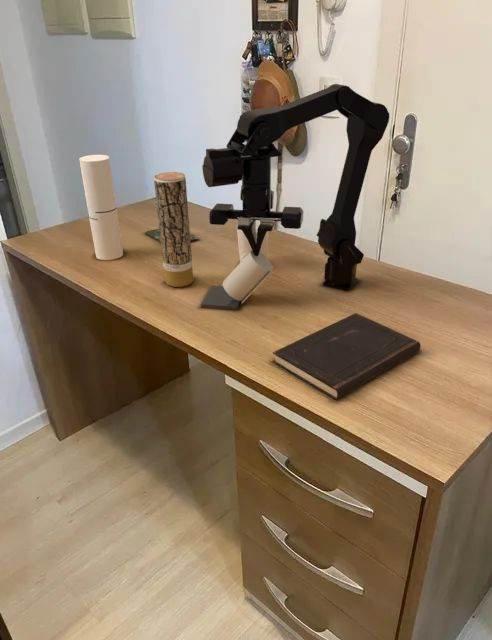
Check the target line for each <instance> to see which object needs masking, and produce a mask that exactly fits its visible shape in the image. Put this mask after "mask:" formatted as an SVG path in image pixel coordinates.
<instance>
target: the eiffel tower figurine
mask: <svg viewBox="0 0 492 640" xmlns="http://www.w3.org/2000/svg"><path fill="white" fill-rule="evenodd" d="M144 233H146V234H147V235H148V236H150V237H152V238H153V239H156V240H157V241H159V242H161V239H160V230H159V228H157V229H151V230H146V231H145V230H144ZM196 239H198V237H197V236H195V235H192V234H190V241H194V240H196Z"/></svg>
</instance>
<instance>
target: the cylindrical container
mask: <svg viewBox="0 0 492 640" xmlns="http://www.w3.org/2000/svg"><path fill="white" fill-rule="evenodd" d="M78 159H79V160H78V161H79V166H80V172H81V177H82V184H83V189H84V195H85V203H86V207H87V212H88V219H89V225H90V230H91V236H92V241H93V246H94V252H95V258H96V259H98V260H102V261H111V260H117V259H119V258H121V257H122V256H124V250H123V243H122V235H121V229H120V223H119V221H120V220H119V216H118V215H119V213H118V208H117V201H116V195H115V187H114V181H113V173H112V167H111V160H110V156H109V155H107V154H89V155H84V156H81V157H79V158H78Z"/></svg>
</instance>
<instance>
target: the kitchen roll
mask: <svg viewBox="0 0 492 640" xmlns="http://www.w3.org/2000/svg"><path fill="white" fill-rule="evenodd" d="M274 266H275V265H274V264H272V262H271V260H270V259H269V258H268V256H267V257H266V256H265V255H263V254H262V253H261V252H260V253H259V255H258V256H255V255H254V253H253V251H252V250H251V251H250V252H249V253H248V254H247V256H246V257H245V258H244V259H243V260H242V261H241V262H240V261H239V263H238V264H237V266H235V268H234V269H233V270H232V271H231V273H229V275H228V276H226V278H225V279H224V280H223V281H222V286H223V287H224V289H225V291H226V292H227V293H228V294H229V295H230V296H231V297H232V298H234V299H236V300H238V301H240V303H241V304H243V303H244V302H246V300H247V299H248V298H249V297H251V295H252V294H253V293H254V292H255V291H256V290H257V289H258V288H259V287H260V286H261V285H262V284H263V282H265V280H266V279H267V278H268V277H269V276H270V275H271V274H272V271H273V269H274Z"/></svg>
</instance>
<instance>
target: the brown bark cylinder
mask: <svg viewBox="0 0 492 640" xmlns="http://www.w3.org/2000/svg"><path fill="white" fill-rule="evenodd" d="M153 181H154V182H153V183H154V193H155V201H156V211H157V219H158V229H159V230H160V239H161V241H160V247H161V248H160V249H161V258H162V266H163V275H164V281H165V283H166V285H167V286H170V287H173V288H182V287H183V288H184V287H187V286H189V285H191V284H192V283H193V282H194V268H193V253H192V243H191V241H192V240H190V235H191V229H190V217H189V216H190V215H189V205H188V204H189V203H188V191H187V178H186V174H185V173H184V172H178V171H168V172H167V171H166V172H160V173H157V174H155V175H154V176H153Z"/></svg>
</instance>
